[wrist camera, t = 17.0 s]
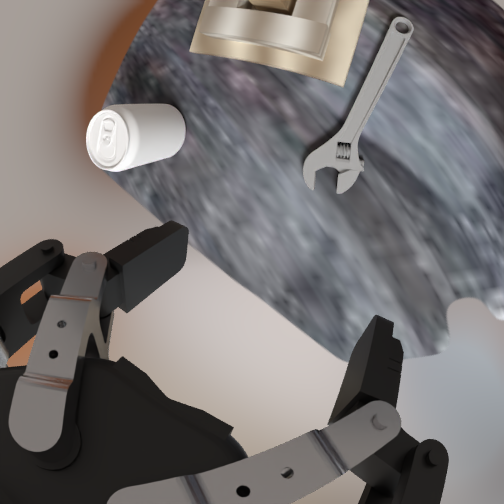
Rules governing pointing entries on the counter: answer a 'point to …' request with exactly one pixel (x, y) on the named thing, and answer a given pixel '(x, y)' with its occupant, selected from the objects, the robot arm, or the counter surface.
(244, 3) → the wooden socket base
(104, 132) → the beverage can
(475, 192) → the counter surface
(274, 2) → the tan long rectangular block
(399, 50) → the adjustable wrench
